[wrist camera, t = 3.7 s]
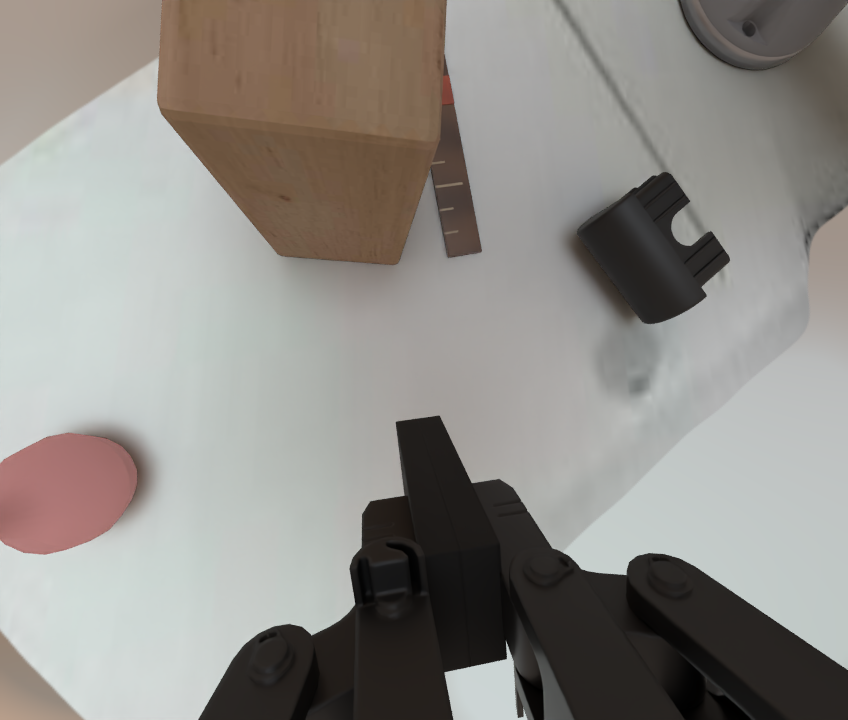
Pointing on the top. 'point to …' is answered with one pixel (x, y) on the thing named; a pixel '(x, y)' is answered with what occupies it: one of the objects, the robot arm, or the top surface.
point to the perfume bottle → (63, 492)
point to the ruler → (453, 182)
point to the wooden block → (310, 114)
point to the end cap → (652, 251)
